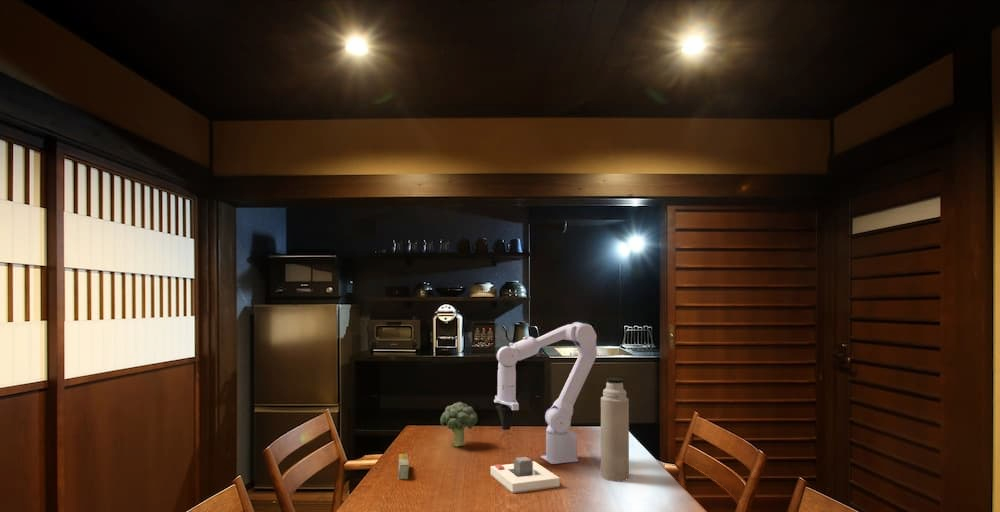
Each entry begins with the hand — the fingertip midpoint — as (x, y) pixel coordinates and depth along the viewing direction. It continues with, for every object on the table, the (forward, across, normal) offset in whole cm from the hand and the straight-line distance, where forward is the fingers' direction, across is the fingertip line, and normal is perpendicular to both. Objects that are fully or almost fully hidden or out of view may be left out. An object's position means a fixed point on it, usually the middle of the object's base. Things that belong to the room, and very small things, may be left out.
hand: (506, 429), depth 177 cm
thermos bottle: (+10, +24, +24) cm, 35 cm away
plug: (+10, +18, -2) cm, 20 cm away
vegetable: (+10, -22, -8) cm, 25 cm away
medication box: (+10, 0, -32) cm, 34 cm away
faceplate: (+10, +18, -2) cm, 21 cm away
